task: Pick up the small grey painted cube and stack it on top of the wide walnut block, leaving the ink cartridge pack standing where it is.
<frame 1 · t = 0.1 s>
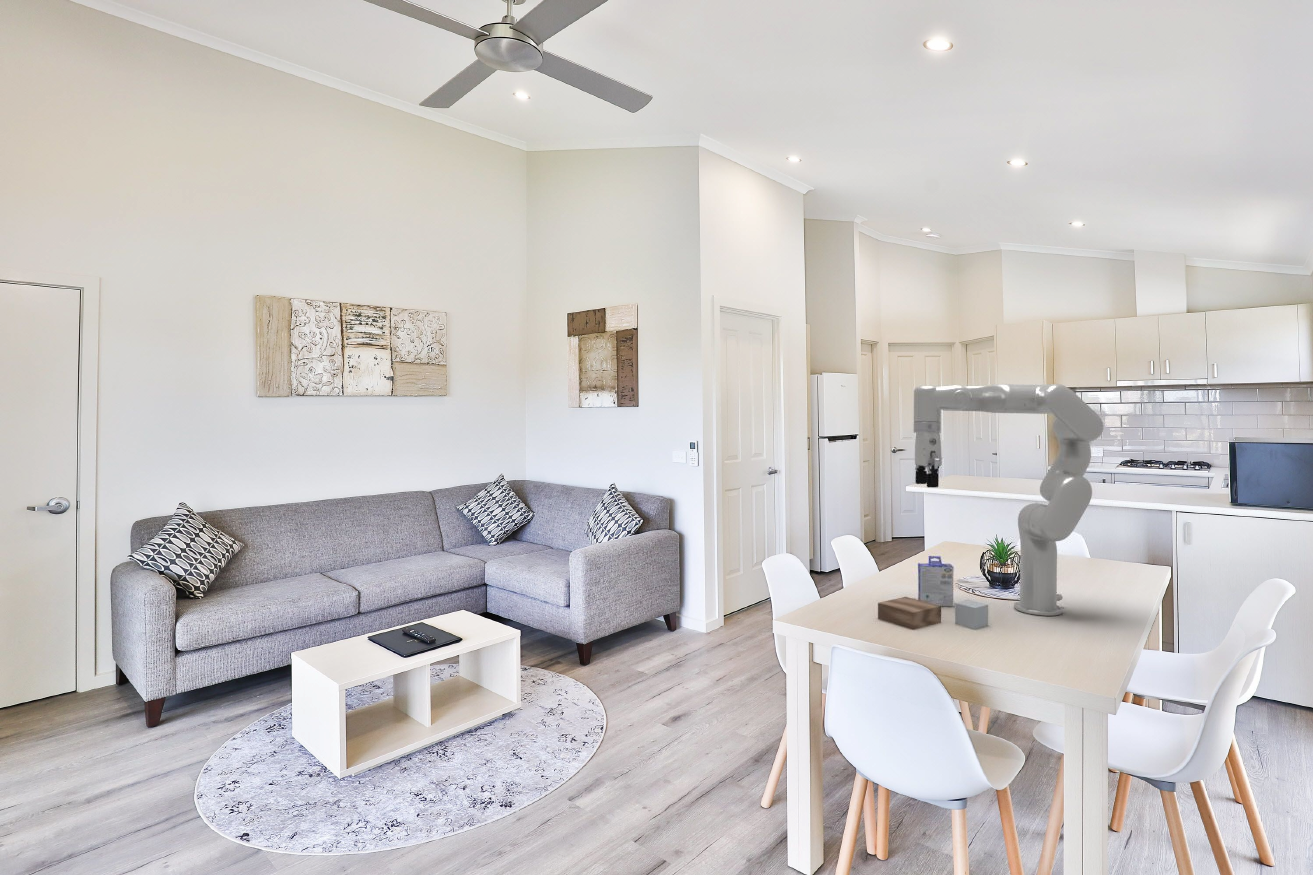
hand: (926, 485, 208), 37 cm above the table, tool pointing down, fingers open, 9 cm apart
walnut block: (909, 621, 199), on the table
ink cartridge box: (935, 604, 216), on the table
grey block: (971, 625, 194), on the table
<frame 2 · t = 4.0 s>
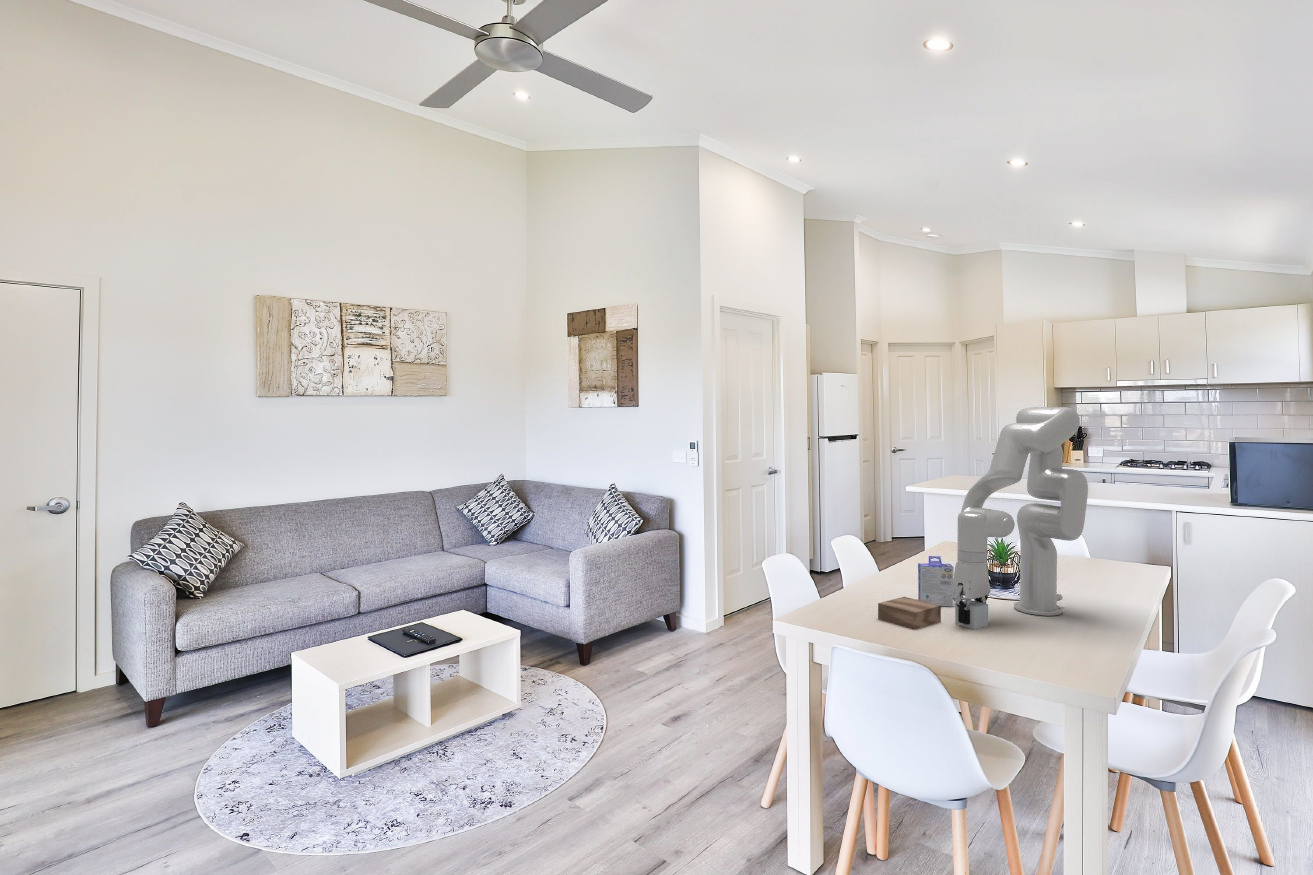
hand: (971, 620, 194), 1 cm above the table, tool pointing down, fingers closed on grey block, 6 cm apart
grey block: (971, 624, 194), on the table, touching gripper
everything else where it was.
when the fingers open (7 cm above the table, at t = 10.4 s): grey block drops 1 cm, resting on walnut block.
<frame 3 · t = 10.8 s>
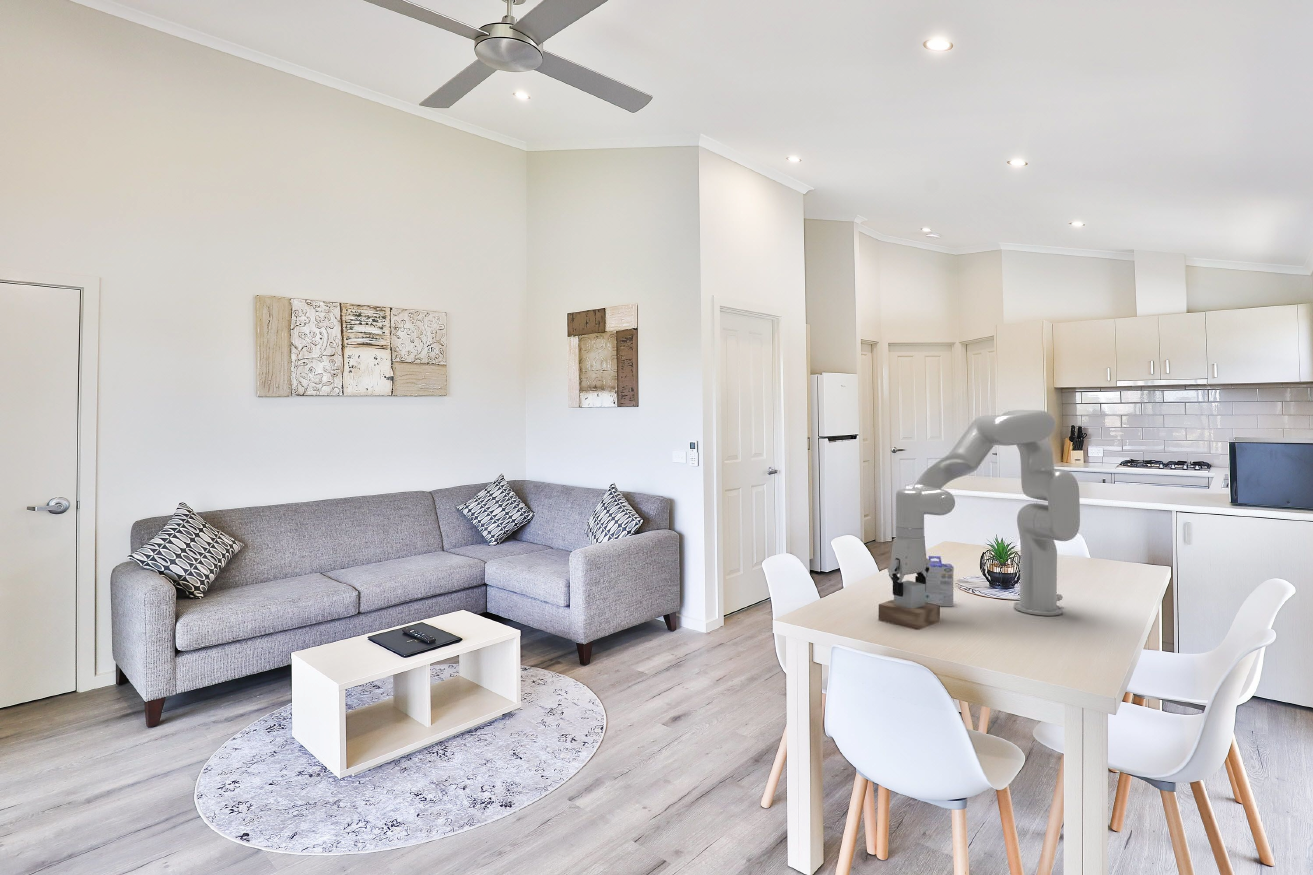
hand: (909, 593, 198), 8 cm above the table, tool pointing down, fingers open, 9 cm apart
walnut block: (909, 622, 199), on the table, touching grey block
grey block: (909, 604, 199), point 5 cm above the table, touching walnut block
everything else where it was.
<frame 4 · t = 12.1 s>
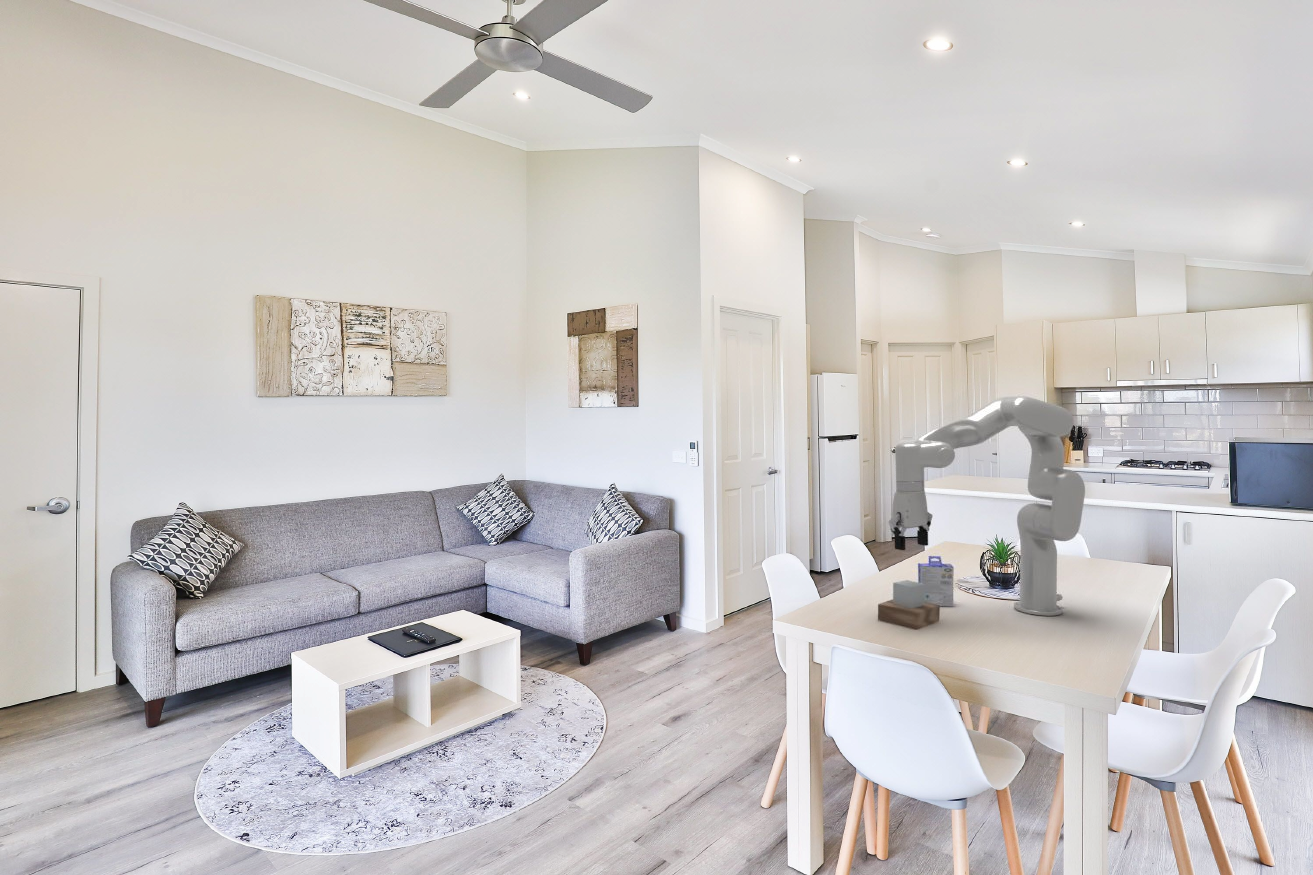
hand: (911, 547, 198), 21 cm above the table, tool pointing down, fingers open, 9 cm apart
nothing on the table moved.
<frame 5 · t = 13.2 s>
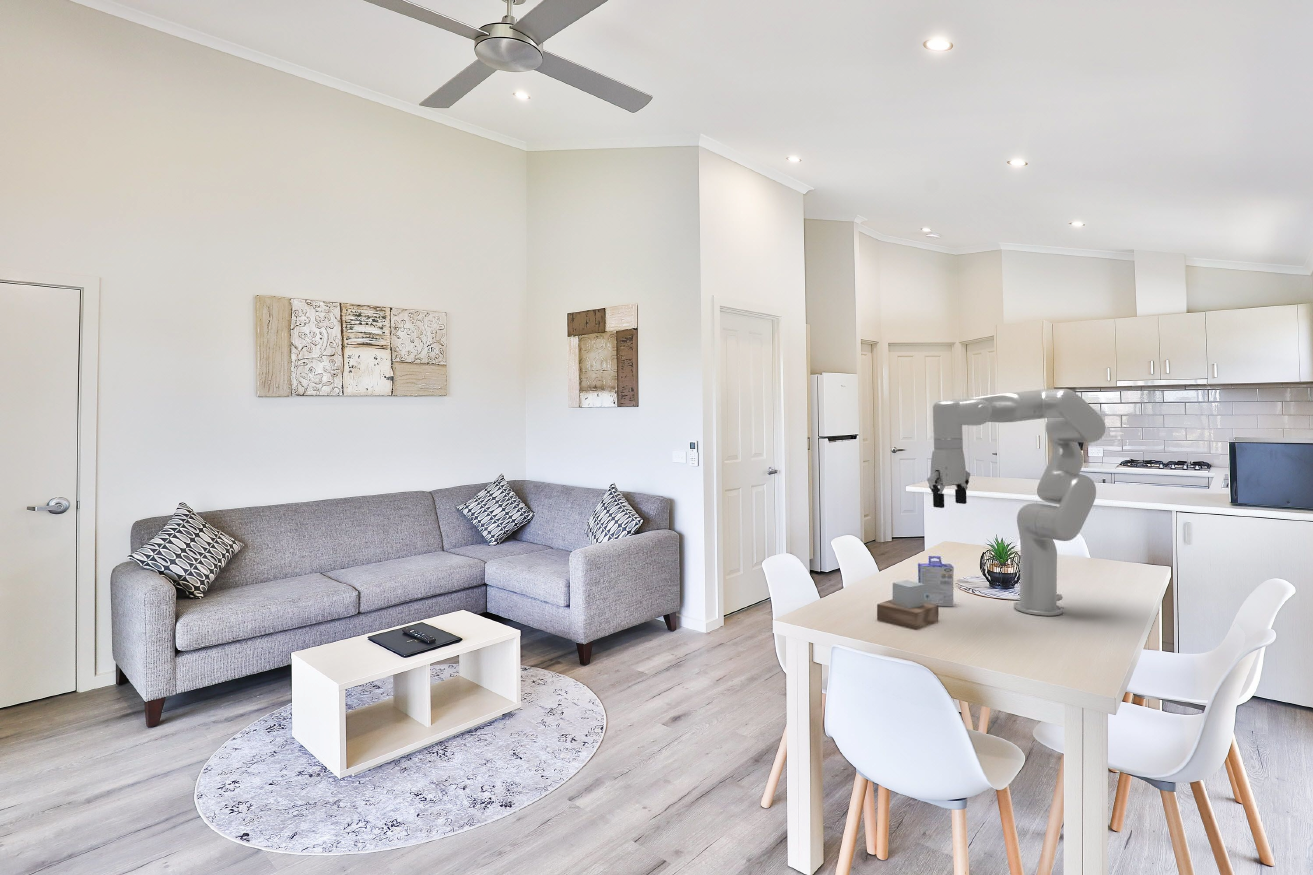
hand: (950, 505, 198), 33 cm above the table, tool pointing down, fingers open, 9 cm apart
walnut block: (907, 622, 199), on the table
grey block: (908, 604, 199), point 5 cm above the table
everything else where it was.
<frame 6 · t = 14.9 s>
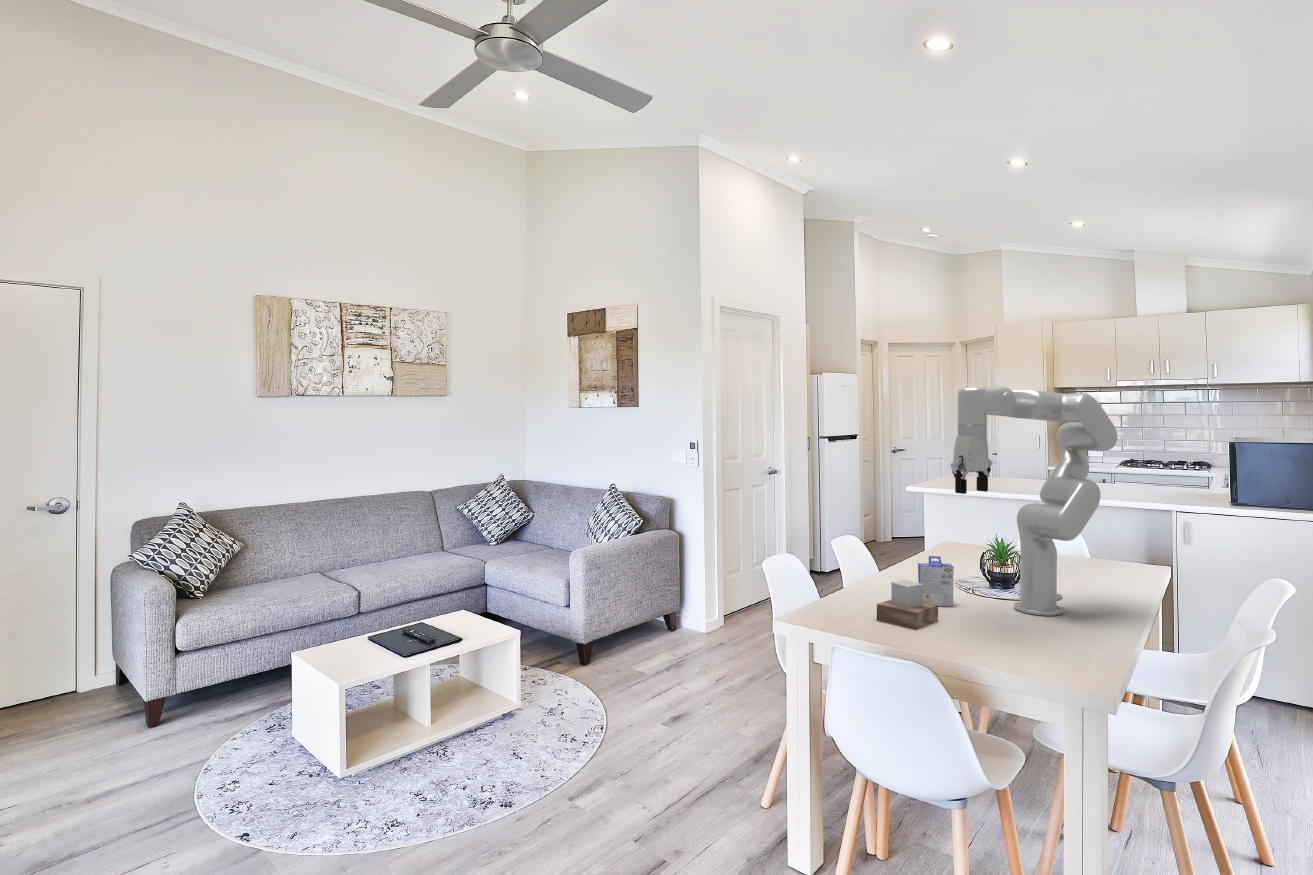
hand: (971, 492, 198), 36 cm above the table, tool pointing down, fingers open, 9 cm apart
nothing on the table moved.
at the end: grey block inside the target area on the walnut block (0.1 cm from its centre), point 5.0 cm above the walnut block's base; grey block tilted 0°; the gripper is holding nothing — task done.
